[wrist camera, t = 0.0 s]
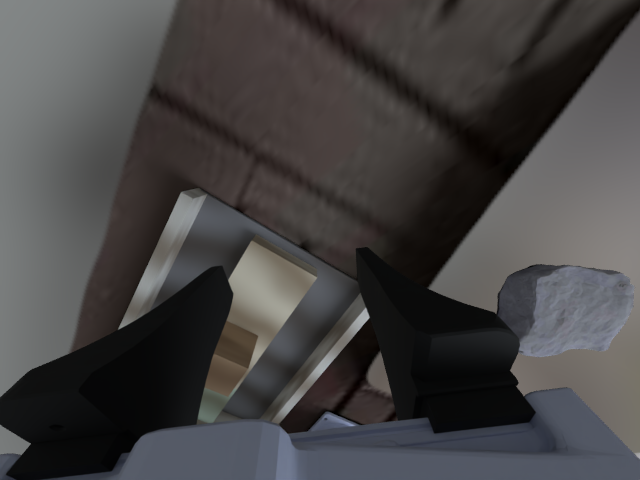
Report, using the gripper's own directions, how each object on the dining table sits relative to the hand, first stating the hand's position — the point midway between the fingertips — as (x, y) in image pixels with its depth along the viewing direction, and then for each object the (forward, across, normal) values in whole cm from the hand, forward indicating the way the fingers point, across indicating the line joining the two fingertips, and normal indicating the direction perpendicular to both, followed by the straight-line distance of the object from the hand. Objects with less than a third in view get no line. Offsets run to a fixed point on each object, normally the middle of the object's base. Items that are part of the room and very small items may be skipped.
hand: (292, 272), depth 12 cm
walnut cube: (+6, +9, +12) cm, 17 cm away
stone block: (+9, -27, +14) cm, 31 cm away
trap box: (+8, +10, +14) cm, 19 cm away
